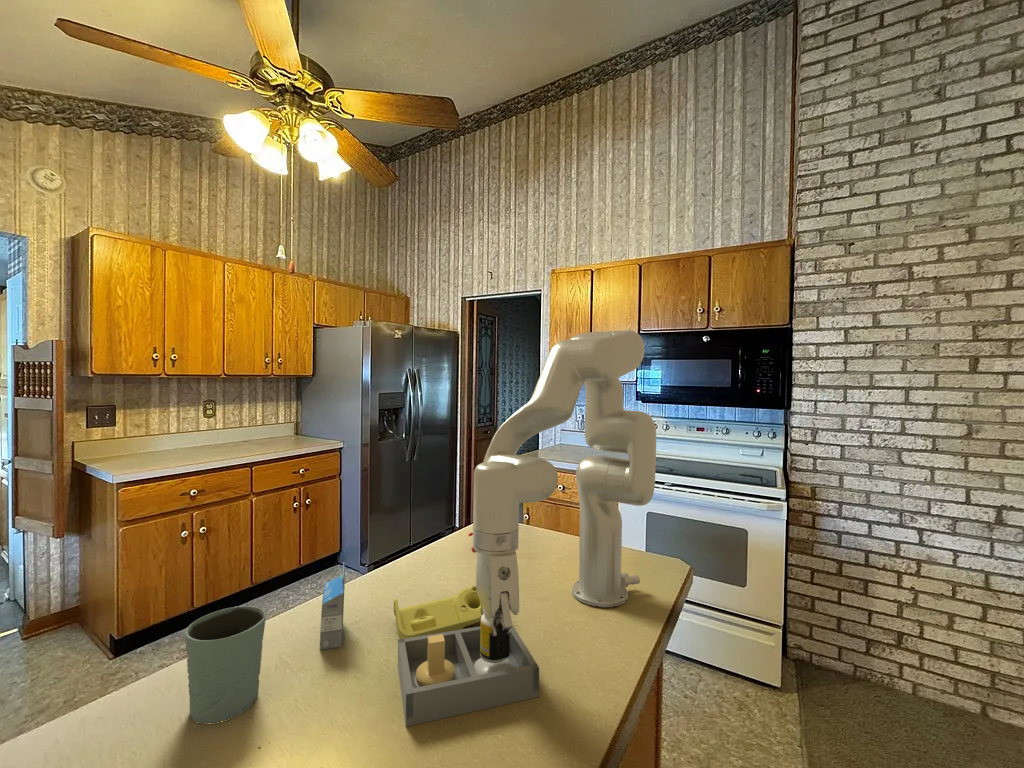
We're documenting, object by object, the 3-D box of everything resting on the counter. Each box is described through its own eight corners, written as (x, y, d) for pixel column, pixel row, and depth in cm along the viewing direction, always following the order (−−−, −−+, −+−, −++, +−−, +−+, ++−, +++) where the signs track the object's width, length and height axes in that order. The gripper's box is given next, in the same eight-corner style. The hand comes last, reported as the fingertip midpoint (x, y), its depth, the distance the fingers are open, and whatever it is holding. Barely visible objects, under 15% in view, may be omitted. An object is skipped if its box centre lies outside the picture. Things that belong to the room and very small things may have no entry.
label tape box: (322, 626, 88) (323, 563, 88) (344, 622, 89) (345, 560, 90) (319, 651, 80) (320, 582, 80) (343, 647, 81) (344, 579, 81)
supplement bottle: (498, 667, 71) (498, 614, 71) (474, 657, 73) (474, 606, 73) (514, 652, 75) (514, 602, 75) (490, 643, 77) (491, 594, 77)
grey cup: (174, 736, 60) (176, 647, 60) (193, 689, 70) (194, 611, 70) (260, 715, 64) (262, 631, 64) (267, 673, 74) (268, 600, 74)
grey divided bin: (509, 645, 82) (510, 604, 82) (538, 696, 69) (539, 647, 69) (397, 666, 76) (398, 621, 76) (405, 726, 63) (406, 672, 63)
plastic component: (400, 638, 80) (393, 592, 89) (400, 664, 84) (393, 617, 92) (504, 611, 87) (488, 571, 96) (500, 636, 91) (485, 595, 99)
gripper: (535, 554, 67) (534, 675, 67) (502, 520, 83) (500, 618, 83) (487, 560, 65) (485, 685, 65) (462, 524, 81) (460, 625, 81)
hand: (494, 646), depth 74 cm, fingers closed on supplement bottle, 4 cm apart
